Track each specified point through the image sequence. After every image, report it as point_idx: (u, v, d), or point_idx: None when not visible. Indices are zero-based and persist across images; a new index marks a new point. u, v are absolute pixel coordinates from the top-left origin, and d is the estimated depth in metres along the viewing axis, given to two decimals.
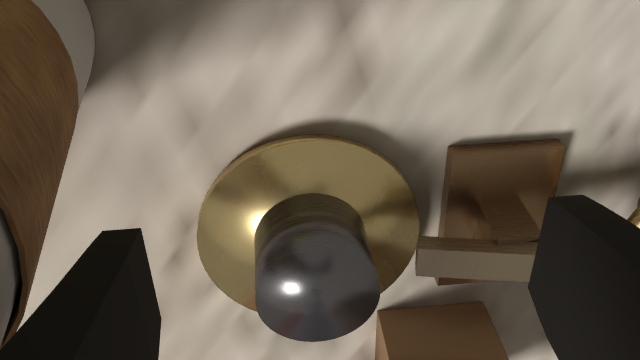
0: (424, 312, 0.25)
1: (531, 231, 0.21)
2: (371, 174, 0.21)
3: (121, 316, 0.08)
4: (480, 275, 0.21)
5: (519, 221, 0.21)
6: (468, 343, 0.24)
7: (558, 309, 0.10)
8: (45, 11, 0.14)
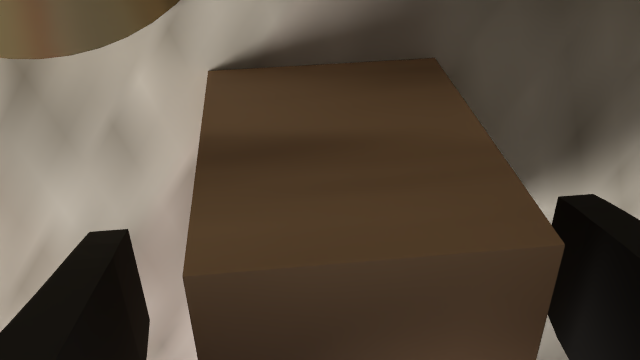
0: (308, 71, 0.12)
1: None
2: None
3: (106, 317, 0.08)
4: None
5: None
6: (392, 110, 0.10)
7: (568, 308, 0.10)
8: None
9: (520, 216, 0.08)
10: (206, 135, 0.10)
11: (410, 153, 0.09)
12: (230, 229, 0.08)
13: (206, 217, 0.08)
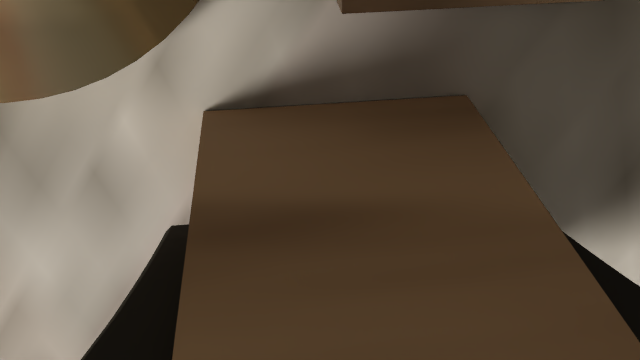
0: (321, 113, 0.10)
1: None
2: None
3: None
4: None
5: None
6: (423, 167, 0.09)
7: None
8: None
9: (599, 330, 0.06)
10: (200, 202, 0.08)
11: (450, 231, 0.07)
12: (227, 347, 0.06)
13: (196, 328, 0.06)
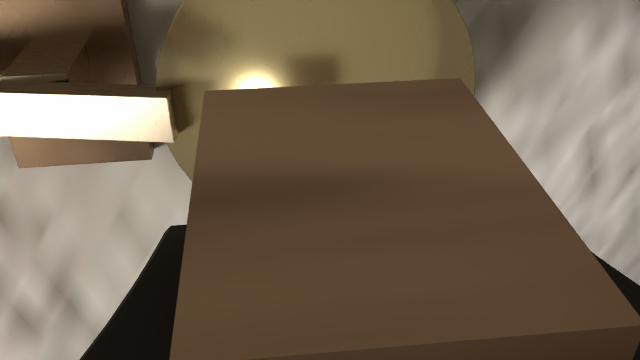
0: (318, 93, 0.10)
1: (56, 69, 0.15)
2: None
3: None
4: None
5: (54, 61, 0.16)
6: (418, 141, 0.09)
7: None
8: None
9: (585, 284, 0.06)
10: (201, 171, 0.08)
11: (443, 197, 0.08)
12: (229, 297, 0.06)
13: (199, 281, 0.06)
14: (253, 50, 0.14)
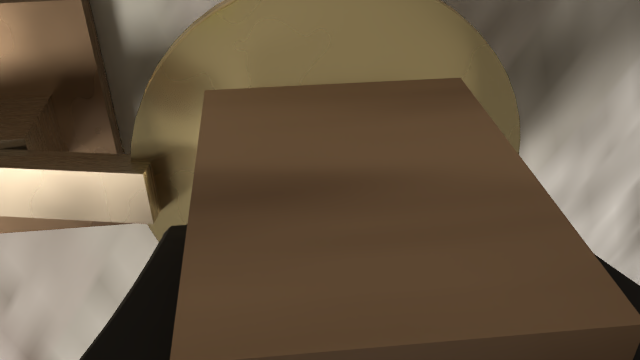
0: (319, 92, 0.10)
1: (11, 132, 0.13)
2: None
3: None
4: None
5: (11, 120, 0.13)
6: (418, 140, 0.09)
7: None
8: None
9: (586, 283, 0.06)
10: (201, 171, 0.08)
11: (443, 196, 0.08)
12: (230, 297, 0.06)
13: (200, 280, 0.06)
14: None
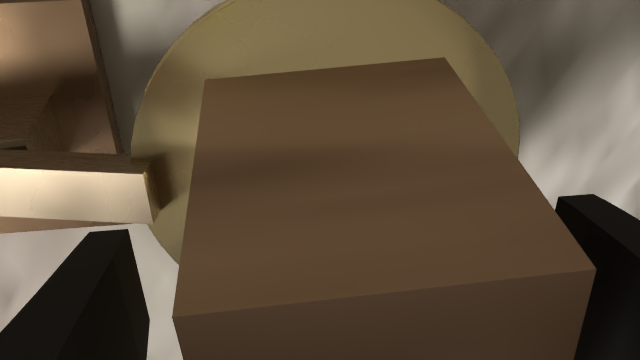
0: (311, 77, 0.11)
1: (11, 133, 0.13)
2: None
3: (106, 317, 0.08)
4: None
5: (11, 120, 0.13)
6: (401, 117, 0.10)
7: None
8: None
9: (545, 236, 0.07)
10: (202, 152, 0.09)
11: (421, 166, 0.08)
12: (225, 259, 0.07)
13: (199, 246, 0.07)
14: None
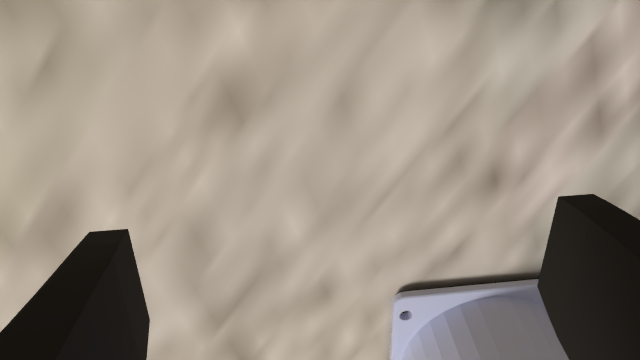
0: None
1: None
2: None
3: (106, 317, 0.08)
4: None
5: None
6: None
7: (568, 308, 0.10)
8: None
9: None
10: None
11: None
12: None
13: None
14: None
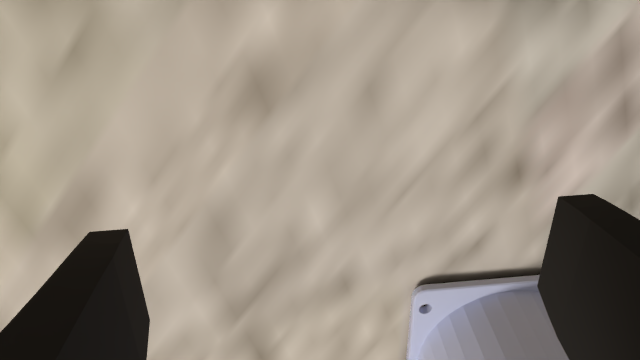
0: None
1: None
2: None
3: (106, 317, 0.08)
4: None
5: None
6: None
7: (568, 308, 0.10)
8: None
9: None
10: None
11: None
12: None
13: None
14: None
